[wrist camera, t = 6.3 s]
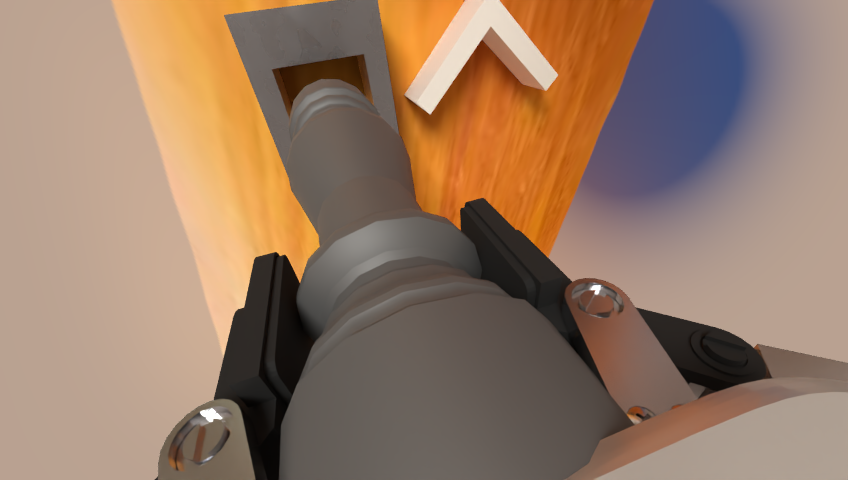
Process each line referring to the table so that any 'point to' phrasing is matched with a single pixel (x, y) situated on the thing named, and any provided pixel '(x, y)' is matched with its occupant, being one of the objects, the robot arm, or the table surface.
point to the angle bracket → (466, 30)
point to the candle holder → (416, 329)
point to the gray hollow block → (311, 54)
